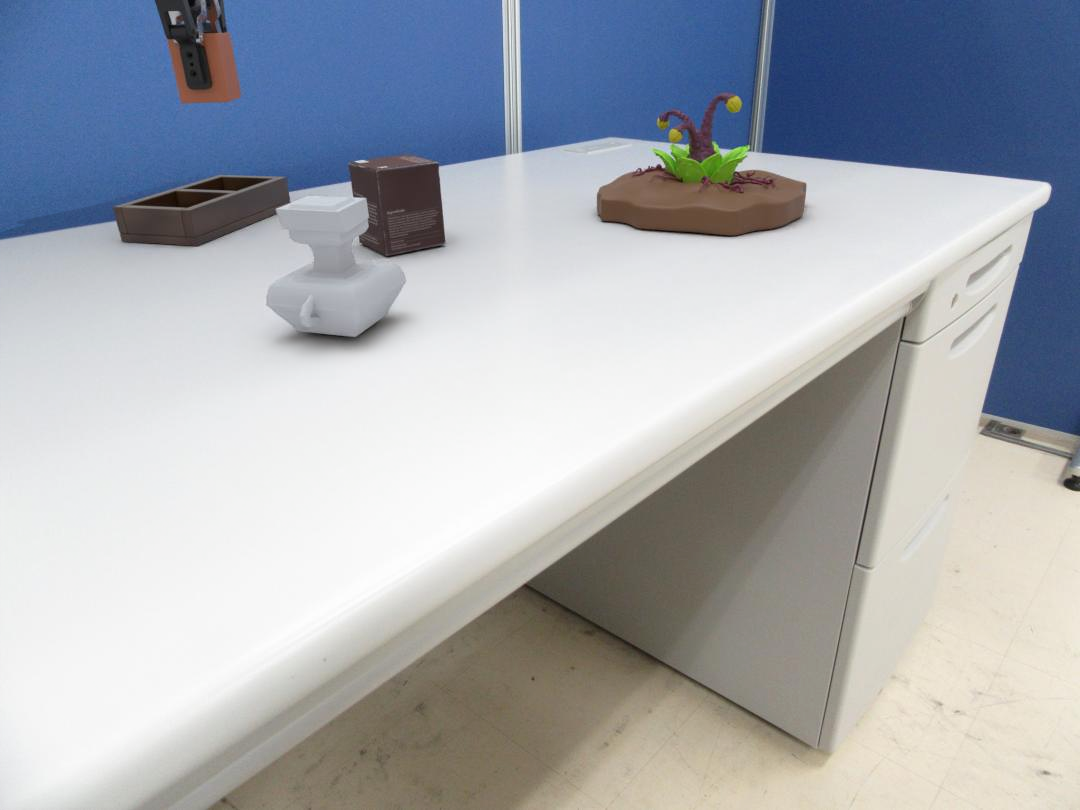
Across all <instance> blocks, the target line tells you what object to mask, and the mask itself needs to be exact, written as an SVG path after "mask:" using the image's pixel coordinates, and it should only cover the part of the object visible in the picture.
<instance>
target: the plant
mask: <svg viewBox="0 0 1080 810" xmlns="http://www.w3.org/2000/svg"><path fill="white" fill-rule="evenodd" d="M720 102H723V103H724V105H725V108H726V109H727V111H729V113H731V114H732V113H733V114H736V113H740V110H741V109H742V105H743V103H742V102H743V101H742V99H741V98H740V96H738V95H736V94H735V93H730V92H722V93H721V92H720V93H718V94H717V95H716V96H715V97H713V98H712V100H711V102H710V103H709V105H708V106H707V107H706V110H705V111H704V116H703V118H702V123H700V124H701V125H700V130H699V129H698V128H697V126H696V125H695V122H693V119H692V118H690V117H689V115H687V114H686V113H683V112H682V111H680V110H679V109H677V110H676V109H673V108H672V109H671V110H668V111H665V112H663V113H662V114H660V115H659V117H658V118H657V120H656V127H657V128H658V129H659V130H661V131H664V130H666V129H667V128H668V127H669V126H670V116H673V117H676V118H677V119H678V120H681V122H682V123H680V124H677V125H676V126H673V127H672V128H671V129H670V130H669V133H668V140H669V143H670V144H669V147H670V150H671V151H670V155H669V154H668V153H667V152H665V151H663V150H659V149H657V148H656V149H655V148H654V147H652V148H651V152H653V153H654V154H655V156H656V157H658V158H659V159H661V161H662V162H663V164H664V167H663V166H662V164H660V163H657V164H656V165H655V166H653V165H651V166H650V165H648V166H647V168H644V169H643V168H641V167H637V169H636V170H634V171H629V172H627V173H624V174H622V175H620V176H618V177H617V178H616V179H614V180H612V181H611V182H609V183H607V184H604V185H601V186H600V187H599V188H598V191H597V192H596V212H597V214H598V215H599V216H600V221H602V222H614V223H623V224H626V225H630V226H633V227H634V228H636V229H640V230H641V229H642V230H653V231H655V230H656V231H666V232H667V231H668V232H683V233H696V234H697V233H698V234H708V235H717V236H719V235H720V236H731V237H732V236H739V235H744V234H747V233H751V232H757V231H763V230H764V231H765V230H772V229H776V228H780V227H784V226H787V225H788V224H790V223H791V222H794V221H796V220H797V219H800V218H801V217H803V216H804V211H805V205H806V204H805V203H806V199H807V198H806V197H807V187H808V186H807V183H806V182H804V181H801V180H796V179H794V178H793V179H792V178H789V177H786V176H783V175H780V174H777V173H775V172H774V173H773V172H771V171H768V170H767V171H766V170H762V169H746V170H740V171H739V170H737V171H736V169H737V167H738V166H739V164H741V163H743V161H744V160H745V159H746V158H748V157H749V155H748V154H746V153H747V152H748V151H749V150H750V149H751V146H750V145H749V144H747V145H742V146H738V147H735V148H733V149H732V150H730V151H728V152H727V153H725V155H724V156H723V154H722V153H721V152H720V147H719V145H718V144H717V142H716V141H713V140H712V139H713V132H712V129H713V127H714V125H713V124H714V123H713V119H714V118H715V116H714V114H715V112H716V110H717V106H718V104H719V103H720ZM685 130H686V132H687V138H688V143H687V144H686V145H685V149H683V148H682V147H679V146H678V145H676V144H678V143H680V142H681V141H682V139H683V138H684V133H685V132H684V131H685Z"/></svg>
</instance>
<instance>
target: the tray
mask: <svg viewBox="0 0 1080 810" xmlns="http://www.w3.org/2000/svg"><path fill="white" fill-rule="evenodd" d="M289 203H292V202H291V195H290V190H289V184H288V178H287V176H269V175H268V176H266V175H240V174H239V175H238V174H237V175H236V174H234V175H233V174H218V175H213V176H211V177H208V178H204V179H201V180H198V181H195V182H190V183H188V184H184V185H181V186H178V187H175V188H171V189H167V190H165V191H161V192H158V193H154V194H151V195H148V196H144V197H141V198H138V199H135V200H132V201H131V200H130V201H128V202H125V203H122V204H118V205H114V206H112V210H113V215H114V217H115V221H116V222H115V223H116V225H117V230H118V232H119V237H120V240H121V242H122V241H125V242H124V243H137V242H139V244H140V242H141V244H154V243H159V244H158V245H171V244H176V245H175V246H188V245H189V246H190V247H199V246H201V245H203V244H205V243H209V242H210V241H213V240H216V239H219V238H220V236H221V237H223V236H226V235H227V234H231V233H233V232H236V231H237V230H240V229H242V228H245V227H248V226H249V225H252V224H254V223H257V222H260V221H262V220H264V219H267V218H269V217H273V216H274V215H277V212H276V209H277V208H279V207H282V206H284V205H287V204H289ZM160 243H161V244H160ZM191 245H192V246H191ZM189 246H188V247H189Z"/></svg>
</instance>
